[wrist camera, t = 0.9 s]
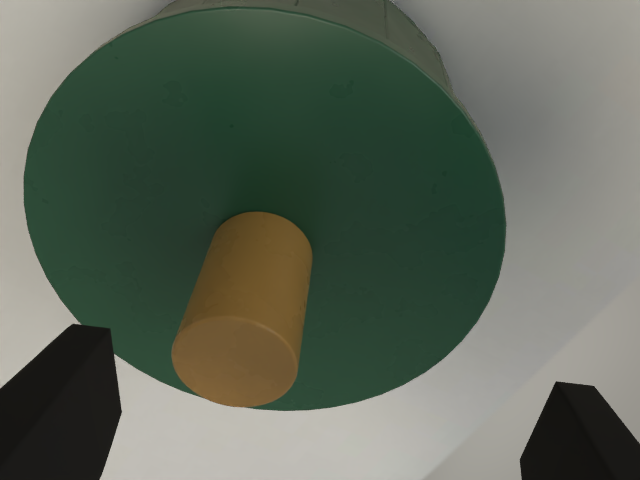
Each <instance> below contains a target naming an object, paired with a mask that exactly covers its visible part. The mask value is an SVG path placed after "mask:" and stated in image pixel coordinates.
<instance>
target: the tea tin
mask: <svg viewBox="0 0 640 480" xmlns="http://www.w3.org/2000/svg"><path fill="white" fill-rule="evenodd" d="M227 1H260V2H276V3H282V4H288V5H294V6H300V7H306V8H311V9H314V10H318V11H321V12H324V13H327V14H331V15H334V16H337V17H340V18H344V19H347V20H349V21H351V22H353V23H356V24H358V25H360V26H362V27H364V28H366V29H369V30H371V31H373V32H375V33H377V34H379V35H382V36H383V37H385V38H386V39H388V40H389V41H391V42H393V43H394V44H396V45H397V46H399V47H400V48H402V49H404V50H405V51H407V52H408V53H410V54H411V55H413V56H414V57H415V58H416V59H418V60H419V61H420V62H421V63H422V64H423V65H425V66H426V67H427V68H428V69H429V70H431V71H432V72H433V73H434V74H435V75H436V76H438V77H439V78H440V79H441V80H442V81H443V83H444V84H445V85H446V86H447V87H448V88H449V89H450V91H451V92H452V93H453V94H454V92H453V89H452V87H451V84H450V81H449V78H448V75H447V73H446V71H445V68H444V65H443V63H442V60H441V57H440V54H439V53H438V52H437V50H436V48H435V47H434V46H433V45H432V44H431V43H430V42H429V41H428V39H427V38H426V36H425V35H424V34H423V33H422V32H421V31H420V29H419V28H418V27H417V26H416V25H415V24H414V22H413V21H412V20H411V19H410V18H409V17H408V16H406V15H405V14H404V13H403V12H402V11H401V10H400V9H398V8H397V7H396V6H395V5H394V4H393V3H391V2H390V1H388V0H176V1H174V2H172V3H170V4H169V5H168V6H167V7H165V8H164V9H163V10H162V11H161V12H160V13H159V14H158V15H160V14H163V13H167V12H171V11H175V10H179V9H183V8H186V7H190V6H194V5H200V4H209V3H218V2H227ZM158 15H156V16H158ZM156 16H155V17H156Z"/></svg>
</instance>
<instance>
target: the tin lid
mask: <svg viewBox="0 0 640 480" xmlns="http://www.w3.org/2000/svg"><path fill="white" fill-rule="evenodd" d="M24 207H25V213H26V220H27V226H28V231H29V234H30V237H31V240H32V243H33V247H34V250H35V253H36V256H37V258H38V260H39V262H40V264H41V266H42V268H43V270H44V273H45V275H46V277H47V279H48V280H49V282H50V283H51V285H52V287H53V288H54V290H55V291H56V293H57V295H58V296H59V298H60V299H61V301H62V302H63V303H64V304H65V306H66V307H67V308H68V309H69V311H70V312H71V313H72V314H73V315H74V317H75V318H76V319H77V320H78V321H79V322H80V323H81V324H82V325H87V326H95V327H104V328H110V329H111V337H112V344H113V352H114V354H115V355H117V356H118V357H120V358H121V359H123V360H124V361H126V362H127V363H129V364H130V365H132V366H133V367H135V368H136V369H138V370H140V371H142V372H144V373H145V374H147V375H149V376H151V377H153V378H155V379H157V380H158V381H160V382H163V383H165V384H167V385H170V386H172V387H174V388H177V389H179V390H181V391H184V392H187V393H190V394H193V395H196V396H199V397H202V398H205V399H207V400H210V401H212V402H215V403H218V404H222V405H226V406H233V407H246V408H253V409H262V410H278V411H295V410H314V409H322V408H331V407H337V406H341V405H346V404H351V403H355V402H359V401H362V400H366V399H369V398H372V397H375V396H378V395H381V394H383V393H386V392H388V391H390V390H393V389H395V388H397V387H400V386H402V385H404V384H406V383H407V382H409V381H411V380H413V379H414V378H416V377H418V376H420V375H421V374H423V373H425V372H426V371H427V370H429V369H430V368H431V367H433V366H434V365H436V364H437V363H438V362H440V361H441V360H442V359H444V358H445V357H446V356H447V355H448V354H449V353H450V352H451V351H452V350H453V349H454V348H455V347H456V346H457V345H458V344H459V343H460V342H461V341H462V340H463V339H464V338H465V336H466V335H467V334H468V333H469V331H470V330H471V329H472V328H473V326H474V325H475V324H476V323H477V321H478V319H479V318H480V316H481V314H482V313H483V311H484V309H485V307H486V306H487V304H488V302H489V300H490V298H491V295H492V293H493V290H494V288H495V285H496V283H497V280H498V278H499V274H500V270H501V266H502V261H503V257H504V252H505V238H506V216H505V207H504V197H503V193H502V189H501V186H500V182H499V178H498V175H497V171H496V167H495V165H494V162H493V159H492V157H491V154H490V152H489V150H488V148H487V146H486V143H485V141H484V139H483V137H482V134H481V132H480V130H479V129H478V127H477V126H476V124H475V123H474V121H473V120H472V118H471V117H470V115H469V113H468V112H467V110H466V109H465V107H464V106H463V104H462V103H461V102H460V101H459V100H458V98H457V97H456V96H455V95H454V94H453V93H452V92H451V91H450V89H449V88H448V87H447V86H446V85H445V84H444V83H443V81H442V80H441V79H440V78H439V77H438V76H436V75H435V74H434V73H433V72H432V71H431V70H429V69H428V68H427V67H426V66H425V65H423V64H422V63H421V62H420V61H419V60H418V59H416V58H415V57H414V56H413V55H411V54H410V53H408V52H407V51H405V50H404V49H402V48H400V47H399V46H397V45H396V44H394V43H393V42H391V41H389V40H388V39H386V38H385V37H383V36H382V35H379V34H377V33H375V32H373V31H371V30H369V29H366V28H364V27H362V26H360V25H358V24H356V23H353V22H351V21H349V20H347V19H344V18H340V17H337V16H334V15H331V14H327V13H324V12H321V11H318V10H314V9H311V8H306V7H300V6H294V5H288V4H282V3H276V2H260V1H227V2H218V3H209V4H200V5H194V6H190V7H186V8H183V9H179V10H175V11H171V12H167V13H163V14H160V15H158V16H156V17H153V18H151V19H149V20H146V21H144V22H142V23H139V24H137V25H135V26H132V27H130V28H128V29H127V30H125V31H123V32H122V33H120V34H119V35H117V36H116V37H114V38H112V39H111V40H109V41H108V42H106V43H104V44H103V45H101V46H100V47H99V48H98V49H97V50H95V51H94V52H93V53H92V54H91V55H90V56H89V57H87V58H86V59H85V60H84V61H83V62H82V63H81V64H80V65H78V66H77V67H76V68H75V69H74V70H73V71H72V72H71V73H70V74H69V75H68V76H67V77H66V79H65V80H64V81H63V82H62V84H61V85H60V86H59V87H58V89H57V90H56V91H55V92H54V94H53V95H52V96H51V98H50V100H49V101H48V103H47V105H46V107H45V109H44V111H43V112H42V114H41V116H40V118H39V120H38V121H37V124H36V127H35V130H34V133H33V136H32V139H31V142H30V145H29V148H28V152H27V159H26V165H25V171H24Z"/></svg>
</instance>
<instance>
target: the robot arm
mask: <svg viewBox="0 0 640 480" xmlns="http://www.w3.org/2000/svg"><path fill="white" fill-rule="evenodd" d="M121 413H122V410H121V403H120V396H119V388H118V381H117V374H116V366H115V359H114V352H113V344H112V337H111V329H110V328H104V327H95V326H87V325H79V324H72V325H71V326H69V327H68V328H67V329H65V330H64V331H63V332H62V333H61V334H60V335H59V336H58V337H57V338H56V339H54V340H53V341H52V342H51V343H50V344H49V345H48V346H47V347H46V348H45V349H44V350H42V351H41V352H40V353H39V354H38V355H37V356H36V357H35V358H34V359H33V360H32V361H30V362H29V363H28V364H27V365H26V366H25V367H24V368H23V369H22V370H21V371H19V372H18V373H17V374H16V375H15V376H14V377H13V378H12V379H10V380H9V381H8V382H7V383H6V384H5V385H4V386H3V387H2V388H0V480H99V479H100V477H101V475H102V472H103V470H104V467H105V464H106V460H107V457H108V454H109V451H110V448H111V445H112V442H113V439H114V436H115V432H116V429H117V426H118V423H119V419H120V416H121ZM520 467H521V476H522V480H640V444H639V442H638V441H637V440H636V439H635V437H634V436H633V435H632V433H631V432H630V431H629V430H628V428H627V427H626V426H625V425H624V423H623V422H622V421H621V419H620V418H619V417H618V416H617V414H616V413H615V412H614V411H613V409H612V408H611V407H610V406H609V404H608V403H607V402H606V400H605V399H604V398H603V397H602V395H601V394H600V393H599V392H598V390H597V389H596V388H595V387H594V386H590V385H582V384H573V383H565V382H556V383H555V385H554V387H553V389H552V391H551V393H550V395H549V398H548V400H547V402H546V404H545V406H544V408H543V411H542V413H541V415H540V417H539V419H538V421H537V423H536V426H535V428H534V430H533V432H532V435H531V436H530V439H529V441H528V443H527V445H526V447H525V450H524V452H523V454H522V456H521V458H520Z"/></svg>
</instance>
